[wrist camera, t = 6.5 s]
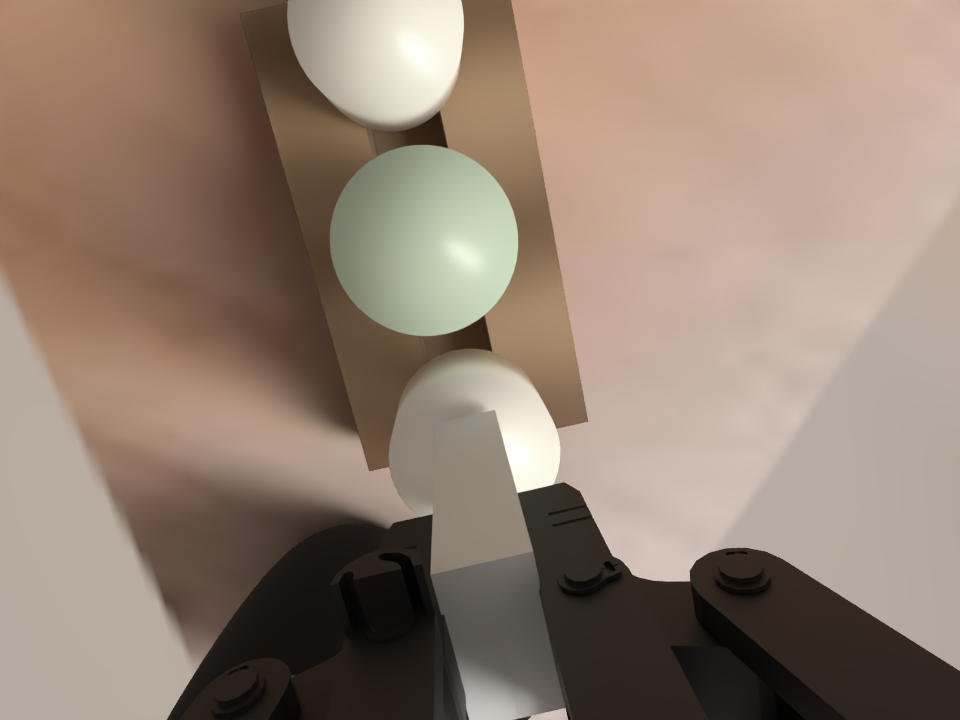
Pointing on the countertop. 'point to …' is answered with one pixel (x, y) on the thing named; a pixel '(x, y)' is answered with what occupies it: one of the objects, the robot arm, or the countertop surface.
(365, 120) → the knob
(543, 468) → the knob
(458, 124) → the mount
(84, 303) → the countertop surface
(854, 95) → the countertop surface
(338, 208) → the knob mid
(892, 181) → the countertop surface
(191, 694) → the mug
